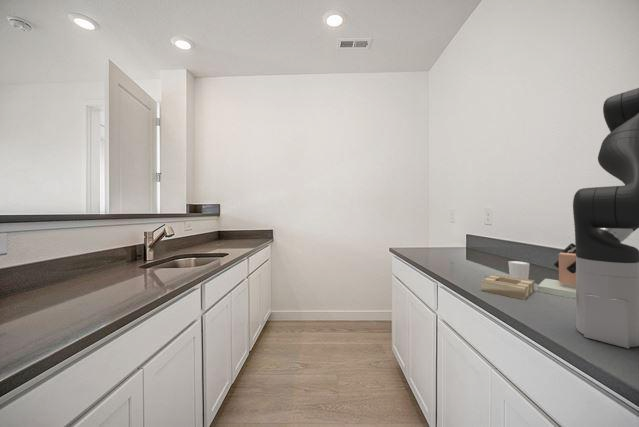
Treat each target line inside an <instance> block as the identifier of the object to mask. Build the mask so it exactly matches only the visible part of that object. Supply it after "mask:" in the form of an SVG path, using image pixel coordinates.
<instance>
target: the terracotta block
mask: <svg viewBox="0 0 639 427" xmlns="http://www.w3.org/2000/svg"><path fill="white" fill-rule="evenodd" d="M558 260H559V268H558V280H559V283H562V284H568V285H574V286H576V272H575V273H570V272H569V271H568V270H567V267H568V266H570V265H571V264H572V263H574V262H575V261H576V254H575V253H574V254H572V253H567V252H566V253H561V252H560V253H558Z"/></svg>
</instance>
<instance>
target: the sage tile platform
mask: <svg viewBox="0 0 639 427" xmlns="http://www.w3.org/2000/svg"><path fill="white" fill-rule="evenodd" d="M537 293H544V294H547V295H548V294H549V295H555V296H559V297H564V298H565V297H566V298H571V299H574V300H576V286H574V285H568V284H562V283H559V279H558V280H557V279H552V278H544V279H543V280H542V281H541V282H540V283H539V284H538V285H537Z"/></svg>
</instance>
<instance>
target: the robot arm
mask: <svg viewBox="0 0 639 427" xmlns="http://www.w3.org/2000/svg"><path fill="white" fill-rule="evenodd" d="M602 107H603V108H602V109H603V112H602V113H603V118H604V121H605V124H606V126H607V128H608V130H609V132H610V133H608V134H607V135H606V136H605V137H604V139H603V141H602V143H601V145H600V149H599V152H598V156H597V161H598V163H599V165H600V167H601V168H602V169H603V171H605V172H607V173H608V174H610V175H611V176H612V177H614V178H616V179H617V180H619V181H620V182H622V183H623V184H624V185H612V186H610V185H609V186H596V187H594V186H593V187H583V188H580V189H578V190H577V191H576V192H575V194H574V195H573V201H572V210H573V211H572V213H573V223H574V224H573V225H574V239H575V240H574V241H575V242H574V243H570V244H569V245H567V247H566V248H564V249H563V250H562V251H561V252H560V253H572V254H576V261H575V262H574V263H572V264H571V265H570V266H568V267H567V270H568V271H569V272H570V273H575V272H576V299H575V311H576V312H575V313H576V314H575V316H576V331H578V332H579V333H581V334H582V335H583V337H585V338H586V339H591V340H595V341H599V342H602V343H606V344H610V345H614V346H617V347H621V348H625V349H630V348H634V347H639V249H638V248H636V247H634V246H633V245H629V244H625V243H622V242H624V241H625V240H626V239H628V238H629V236H630V235H632V233H634V232H635V231H636V230H638V229H639V87H637V88H633V89H631V90H627V91H624V92H621V93H618V94H614V95H612V96H609V97H607V98H606V100H605V101H604V103H603V106H602ZM553 265H554V267H556V268H557V269H559V259H558V260H557V261H555V262H554V263H553Z"/></svg>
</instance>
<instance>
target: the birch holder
mask: <svg viewBox="0 0 639 427" xmlns="http://www.w3.org/2000/svg"><path fill="white" fill-rule="evenodd" d="M480 288H481V289H480V291H482V292H486V293H491V294H495V295H500V296H505V297H511V298H515V299H519V300H526V299H527V298H529V296H531V294H533V293H534V292H535V289H536V288H535V280H534V279H529V278H528V279H522V278H516V277H510V275H509V276H508V275H502V274H495V273H493V274H491V275H489V276H488V277H486V278H484V279H481V281H480Z"/></svg>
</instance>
